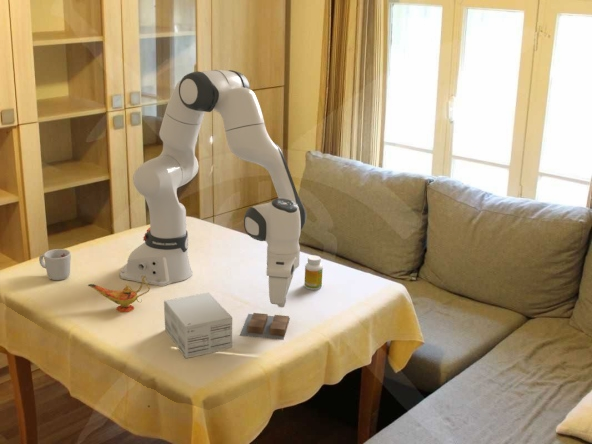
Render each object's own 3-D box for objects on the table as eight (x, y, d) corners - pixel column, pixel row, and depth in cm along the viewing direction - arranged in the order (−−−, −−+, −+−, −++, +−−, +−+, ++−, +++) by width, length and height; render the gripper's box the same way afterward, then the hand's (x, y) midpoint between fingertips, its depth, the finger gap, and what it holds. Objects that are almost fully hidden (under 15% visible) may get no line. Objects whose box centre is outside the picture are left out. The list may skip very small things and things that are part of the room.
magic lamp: (93, 300, 220) (90, 266, 216) (153, 305, 218) (152, 270, 215) (85, 311, 213) (82, 275, 210) (147, 315, 212) (145, 280, 208)
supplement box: (233, 348, 197) (233, 316, 193) (185, 359, 191) (184, 326, 188) (209, 321, 211) (209, 291, 207) (164, 330, 205) (163, 299, 202)
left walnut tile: (253, 319, 211) (248, 332, 204) (253, 312, 211) (248, 326, 203) (267, 320, 211) (262, 334, 203) (267, 314, 210) (262, 327, 203)
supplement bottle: (320, 291, 231) (321, 262, 228) (302, 289, 232) (304, 260, 229) (323, 284, 236) (324, 255, 233) (306, 282, 237) (307, 253, 234)
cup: (32, 277, 233) (30, 254, 230) (49, 268, 240) (47, 245, 237) (61, 284, 229) (59, 260, 227) (77, 274, 236) (76, 251, 234)
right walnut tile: (274, 321, 211) (269, 334, 203) (274, 314, 210) (270, 328, 202) (288, 322, 210) (284, 336, 203) (288, 316, 209) (284, 329, 202)
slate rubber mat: (239, 336, 202) (239, 335, 202) (248, 315, 215) (248, 313, 214) (283, 341, 201) (283, 339, 201) (290, 318, 213) (290, 317, 213)
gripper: (277, 243, 213) (276, 288, 218) (265, 272, 194) (264, 320, 199) (299, 245, 212) (297, 290, 217) (289, 274, 193) (287, 322, 198)
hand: (281, 305), depth 208 cm, fingers closed
